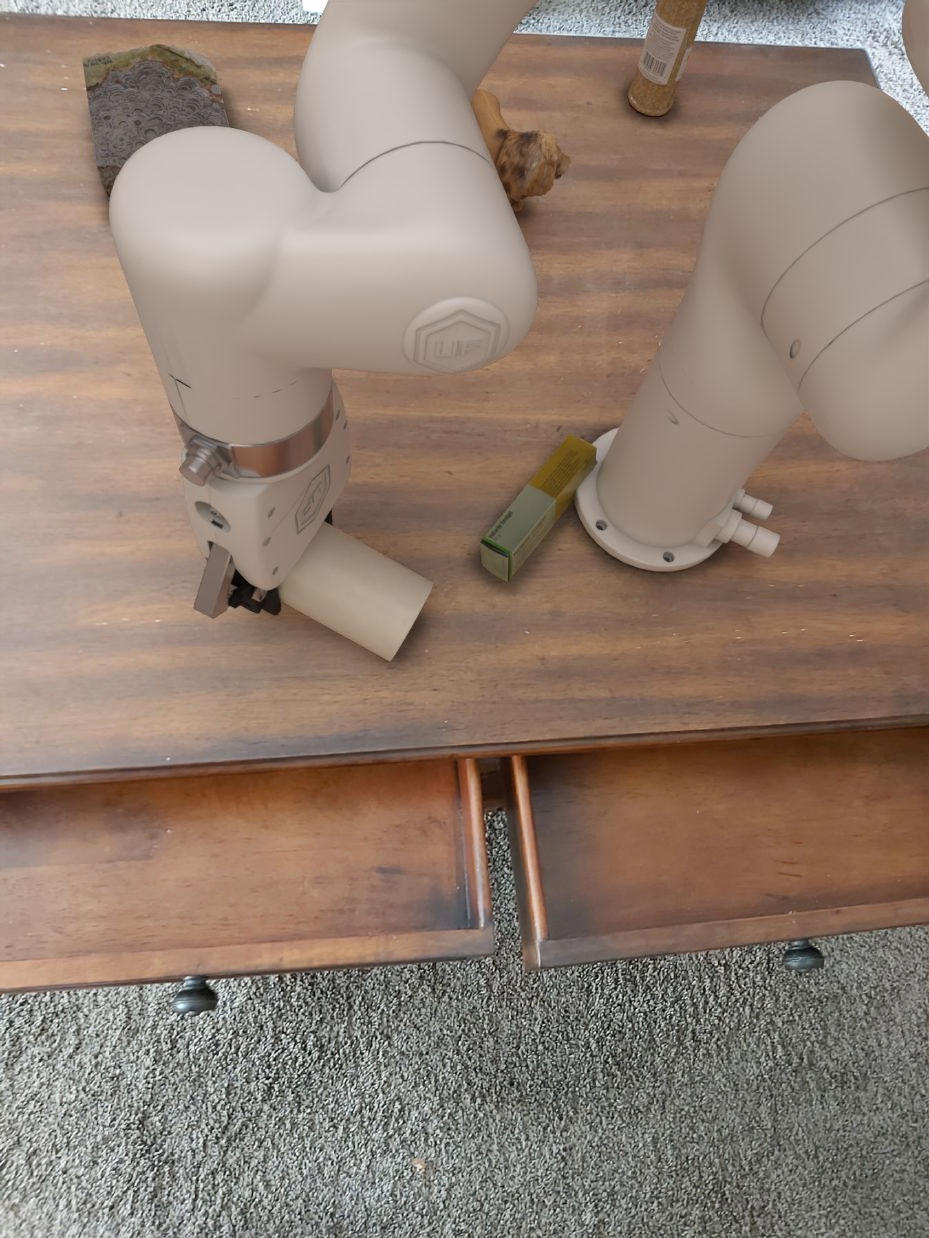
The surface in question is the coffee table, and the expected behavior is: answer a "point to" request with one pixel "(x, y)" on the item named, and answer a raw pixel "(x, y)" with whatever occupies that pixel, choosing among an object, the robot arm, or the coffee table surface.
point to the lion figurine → (518, 152)
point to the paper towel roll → (355, 591)
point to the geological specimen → (147, 100)
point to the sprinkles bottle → (665, 54)
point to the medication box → (537, 508)
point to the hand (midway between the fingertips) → (285, 561)
